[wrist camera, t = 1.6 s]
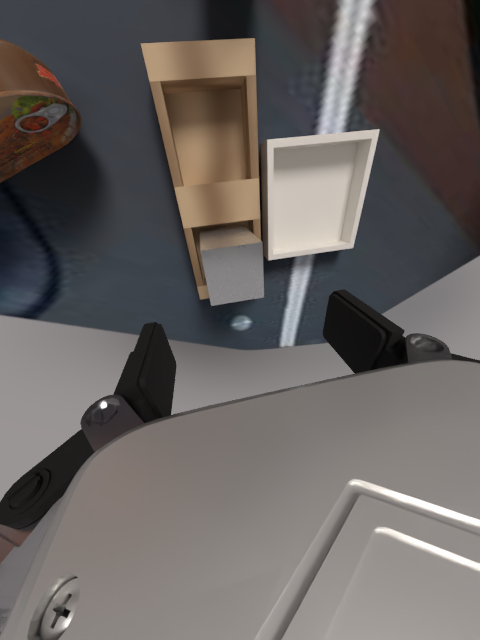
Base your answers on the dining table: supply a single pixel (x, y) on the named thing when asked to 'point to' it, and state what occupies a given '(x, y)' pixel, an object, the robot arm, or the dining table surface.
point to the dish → (314, 191)
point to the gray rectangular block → (232, 264)
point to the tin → (31, 111)
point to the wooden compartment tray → (208, 134)
